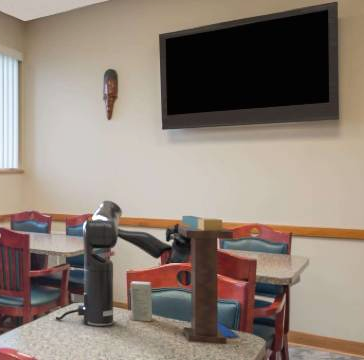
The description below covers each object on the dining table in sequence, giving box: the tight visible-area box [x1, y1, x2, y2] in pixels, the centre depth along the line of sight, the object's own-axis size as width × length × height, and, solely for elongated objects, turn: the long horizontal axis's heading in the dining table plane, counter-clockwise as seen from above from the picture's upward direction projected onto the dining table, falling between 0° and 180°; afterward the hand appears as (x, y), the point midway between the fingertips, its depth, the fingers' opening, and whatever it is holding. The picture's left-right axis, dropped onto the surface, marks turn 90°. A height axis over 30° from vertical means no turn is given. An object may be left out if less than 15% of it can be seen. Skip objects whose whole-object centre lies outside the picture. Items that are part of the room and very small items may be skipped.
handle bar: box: [181, 215, 223, 231], centre depth 150 cm, size 5×22×3 cm, turn 175°
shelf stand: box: [178, 225, 234, 344], centre depth 144 cm, size 12×14×32 cm
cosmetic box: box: [130, 280, 153, 322], centre depth 163 cm, size 6×4×12 cm
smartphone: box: [218, 321, 238, 339], centre depth 152 cm, size 7×1×15 cm
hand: (191, 226), depth 161 cm, fingers open, 8 cm apart
